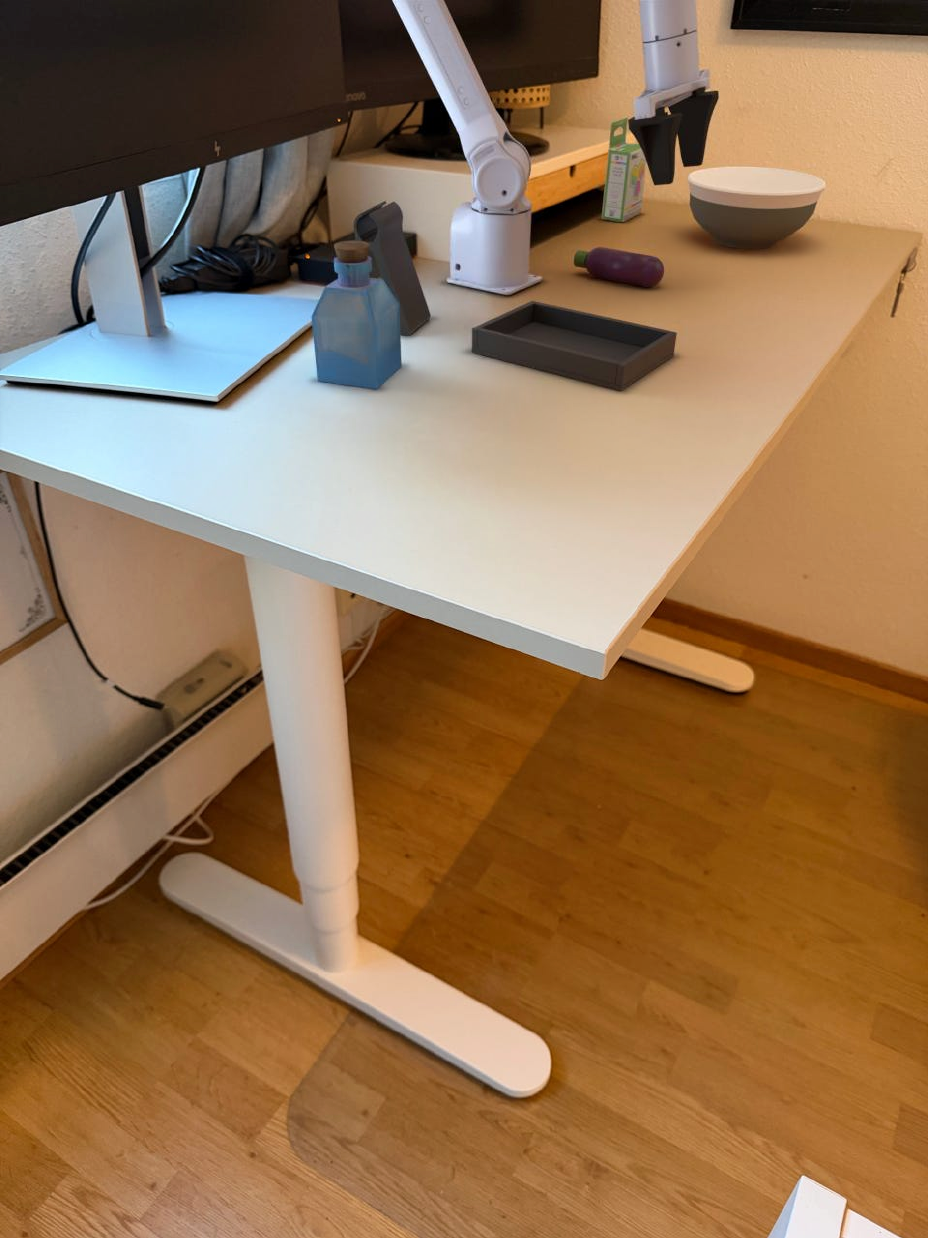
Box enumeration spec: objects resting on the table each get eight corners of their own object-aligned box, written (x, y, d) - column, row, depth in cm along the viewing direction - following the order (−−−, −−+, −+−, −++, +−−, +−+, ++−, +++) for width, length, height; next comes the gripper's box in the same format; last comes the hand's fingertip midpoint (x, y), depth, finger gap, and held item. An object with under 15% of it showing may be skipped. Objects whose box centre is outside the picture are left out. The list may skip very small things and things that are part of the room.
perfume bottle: (401, 366, 89) (396, 239, 82) (376, 389, 84) (369, 256, 77) (345, 358, 91) (335, 233, 84) (317, 380, 86) (304, 250, 79)
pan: (471, 352, 92) (471, 328, 91) (530, 323, 100) (531, 300, 98) (621, 391, 84) (623, 365, 83) (673, 356, 92) (677, 332, 90)
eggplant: (569, 275, 115) (571, 246, 113) (583, 269, 117) (585, 240, 115) (654, 292, 109) (657, 261, 107) (667, 285, 111) (671, 255, 109)
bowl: (830, 258, 121) (845, 192, 116) (692, 257, 122) (702, 191, 117) (791, 225, 136) (803, 166, 132) (669, 224, 137) (676, 165, 132)
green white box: (624, 223, 137) (634, 124, 129) (600, 220, 139) (609, 122, 131) (641, 214, 142) (652, 118, 134) (618, 211, 144) (627, 116, 136)
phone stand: (431, 319, 101) (429, 204, 94) (410, 335, 96) (406, 216, 89) (359, 310, 103) (351, 197, 96) (335, 326, 99) (325, 209, 92)
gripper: (673, 42, 88) (683, 189, 96) (733, 17, 97) (737, 154, 104) (610, 53, 92) (624, 194, 100) (673, 29, 101) (681, 160, 108)
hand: (678, 174), depth 102 cm, fingers open, 7 cm apart
